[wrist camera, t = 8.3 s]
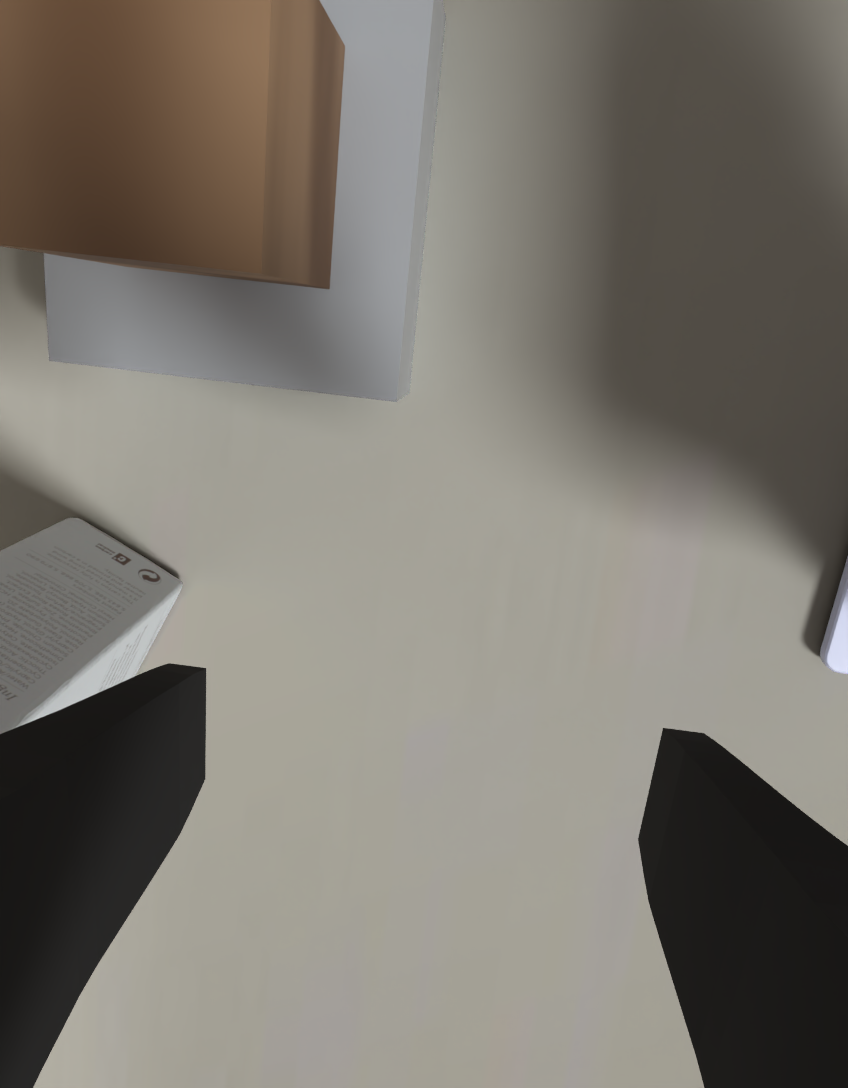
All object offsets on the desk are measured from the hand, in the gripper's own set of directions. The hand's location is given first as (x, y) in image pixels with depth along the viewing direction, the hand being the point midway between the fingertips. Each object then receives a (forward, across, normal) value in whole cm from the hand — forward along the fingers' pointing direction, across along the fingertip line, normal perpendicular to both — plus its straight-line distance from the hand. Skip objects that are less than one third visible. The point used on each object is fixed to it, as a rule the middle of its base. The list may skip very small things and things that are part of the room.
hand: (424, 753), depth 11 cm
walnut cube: (+8, +6, -10) cm, 14 cm away
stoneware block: (+11, +6, -9) cm, 16 cm away
